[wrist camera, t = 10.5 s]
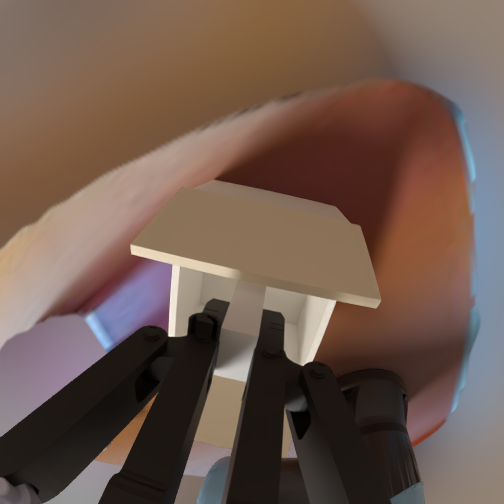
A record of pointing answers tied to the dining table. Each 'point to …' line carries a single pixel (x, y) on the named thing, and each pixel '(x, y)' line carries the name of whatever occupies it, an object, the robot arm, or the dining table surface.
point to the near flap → (262, 246)
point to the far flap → (227, 415)
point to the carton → (288, 303)
